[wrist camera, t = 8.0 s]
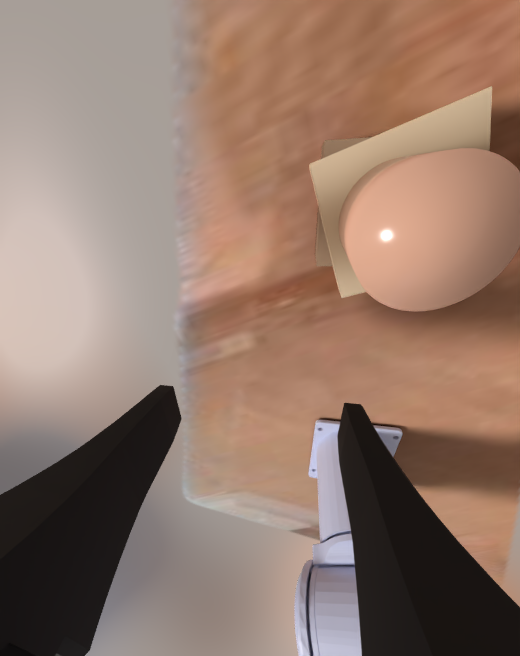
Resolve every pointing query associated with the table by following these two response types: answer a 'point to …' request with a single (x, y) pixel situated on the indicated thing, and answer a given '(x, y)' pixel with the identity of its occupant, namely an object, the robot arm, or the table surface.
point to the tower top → (405, 140)
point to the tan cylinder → (432, 226)
